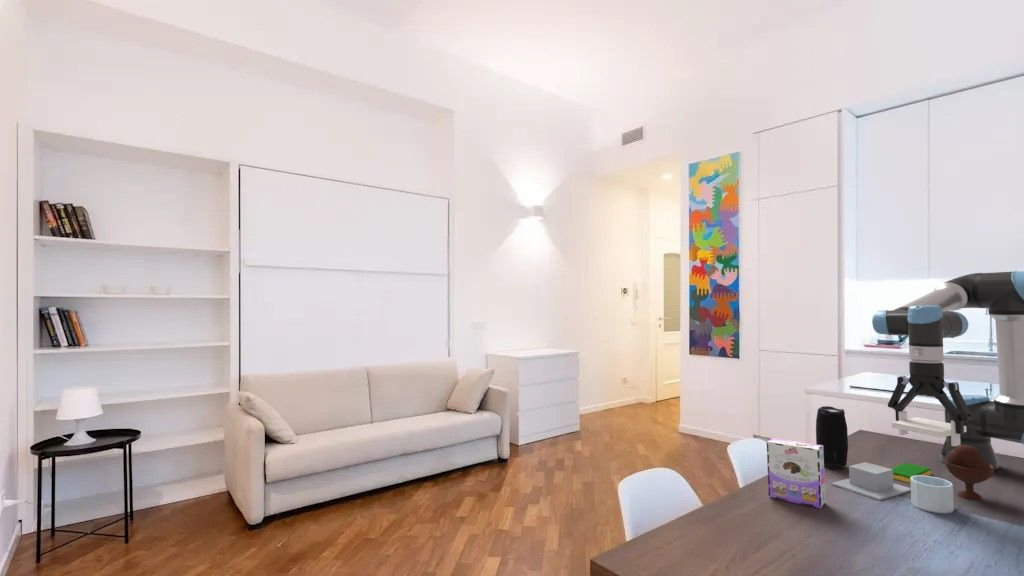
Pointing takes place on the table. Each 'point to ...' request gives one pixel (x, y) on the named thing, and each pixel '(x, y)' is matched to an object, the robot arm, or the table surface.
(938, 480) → the ceramic bowl
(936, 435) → the white flat square block
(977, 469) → the ice cream bowl
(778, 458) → the candy box
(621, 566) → the table surface
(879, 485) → the stand
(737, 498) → the table surface
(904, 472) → the dish sponge
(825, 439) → the portable speaker
